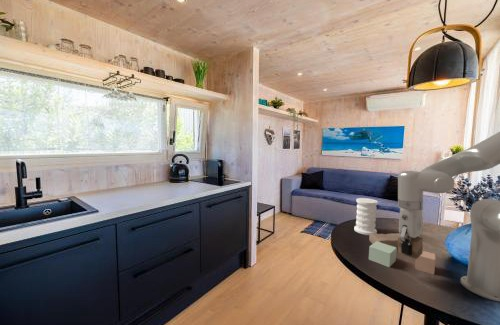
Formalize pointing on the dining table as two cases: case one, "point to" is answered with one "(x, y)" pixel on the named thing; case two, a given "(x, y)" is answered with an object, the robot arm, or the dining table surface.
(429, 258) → the terracotta cube
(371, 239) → the brick
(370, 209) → the decorative container
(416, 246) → the walnut cube
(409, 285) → the dining table surface
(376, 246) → the base block
